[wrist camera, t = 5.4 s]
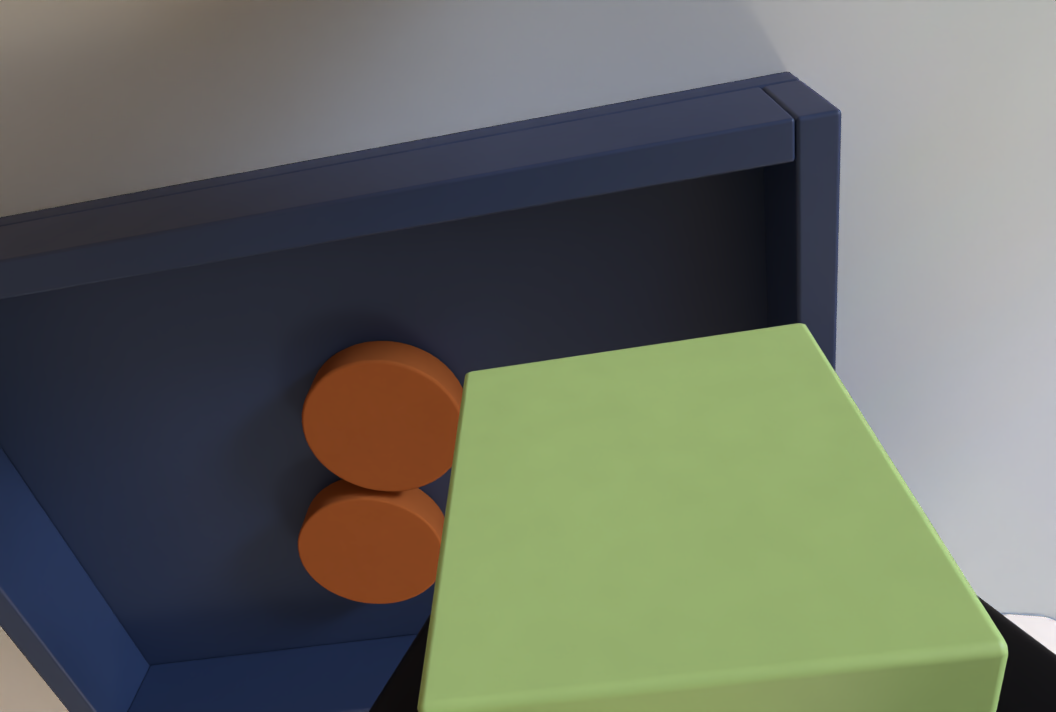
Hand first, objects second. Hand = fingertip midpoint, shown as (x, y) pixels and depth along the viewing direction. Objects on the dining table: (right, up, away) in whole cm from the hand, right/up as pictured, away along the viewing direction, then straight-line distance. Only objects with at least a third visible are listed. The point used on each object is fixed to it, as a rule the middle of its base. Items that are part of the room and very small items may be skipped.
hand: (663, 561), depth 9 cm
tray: (-5, 0, +12) cm, 13 cm away
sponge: (0, 0, +1) cm, 1 cm away
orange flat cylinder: (-5, +1, +10) cm, 12 cm away
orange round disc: (-6, -2, +13) cm, 14 cm away
